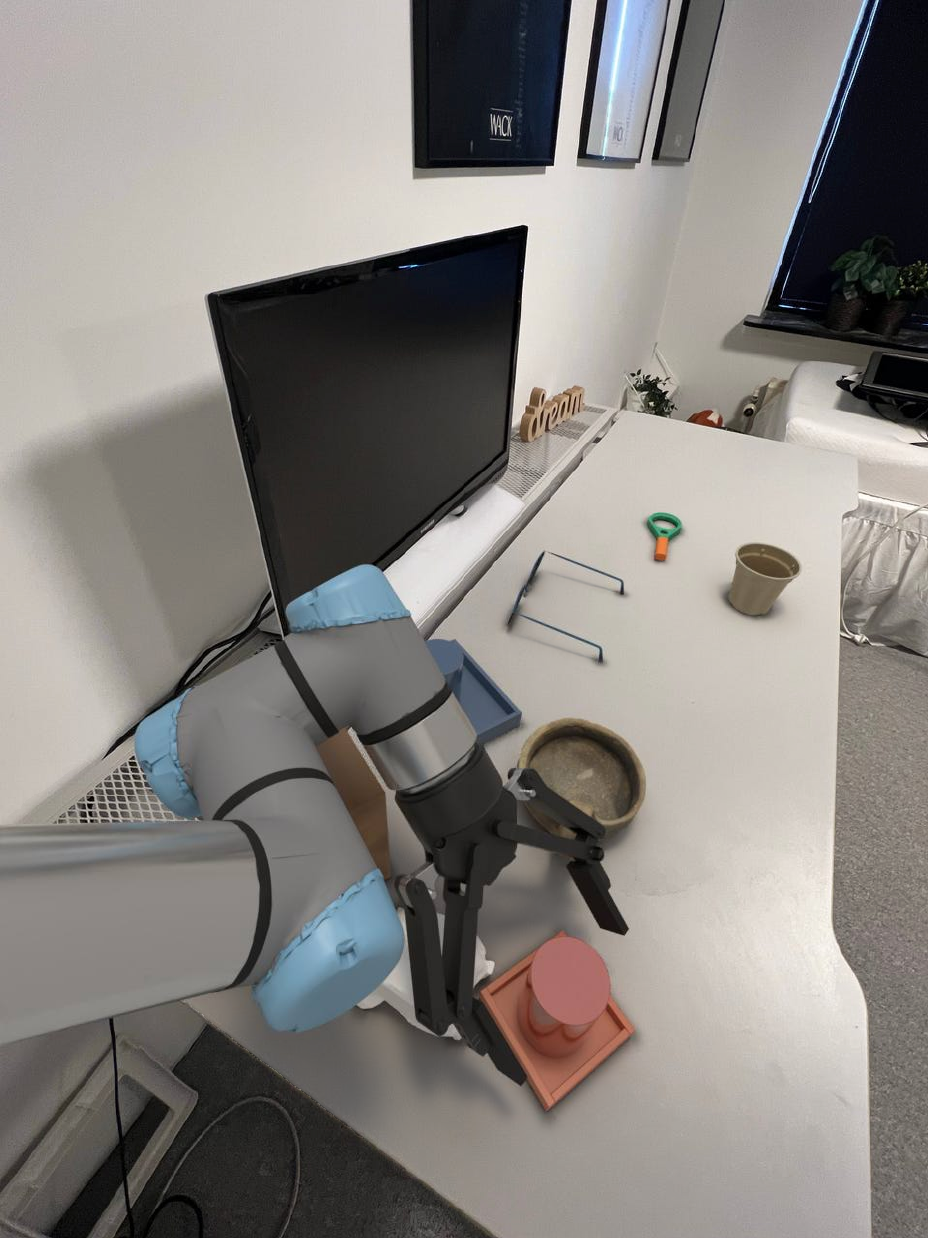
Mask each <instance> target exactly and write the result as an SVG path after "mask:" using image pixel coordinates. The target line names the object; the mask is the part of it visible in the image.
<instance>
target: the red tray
mask: <svg viewBox="0 0 928 1238" xmlns="http://www.w3.org/2000/svg"><path fill="white" fill-rule="evenodd" d="M561 936H567V934H566V933H565V931H564V930H561V931H560V932H558V933H557V934H555V935H554V936H553V937H552V938H555V937H561ZM539 948H540V946H539V947H538V948H536V950H534V951H532V953H530V954H529V955H527V956H526V957H524V958H523V959H522V960H520V961H519V962H518V963H516V964H515V965H513V967H511V968H510V969H508V970H507V971H505V972H504V973H503V974H502V975H500V976H498V978H497V979H495V980H494V981H492V982H491V983H490V984H488V985H486V987H484V988H482V989H481V990H480V993H479V996H478V998H479V1001H481V1002H483V1003H484V1004H485V1006H486V1008H487V1009H488V1011H489V1013H490V1014H491V1016H492V1018H493V1019H494V1021H495V1023H496V1024H497V1026H498V1028H499V1029H500V1031H501V1033H502V1034H503V1036H504V1038H505V1039H506V1041H507V1043H508V1044H509V1046H510V1048H511V1049H512V1051H513V1053H514V1054H515V1056H516V1058H517V1059H518V1061H519V1063H520V1064H521V1066H522V1068H523V1069H524V1071H525V1073H526V1074H527V1076H528V1077H527V1079H526V1081H527V1082H528V1083H529V1085H530V1087H531V1088H532V1091H533V1092H534V1093H535V1096H536V1097H537V1099H538V1101H539V1103H540V1104H541V1106H542V1107H543V1109H544V1111H545V1113H547V1112H548V1111H549V1110H550V1109H552V1107H554V1106H555V1105H556V1104H557V1103H558V1102H559V1101H561V1100H562V1099H563V1098H564V1097H565V1096H566V1095H567V1094H568V1093H570V1092H571V1090H573V1089H574V1088H575V1087H576V1086H577V1085H578V1084H579V1083H580V1082H582V1081H583V1079H586V1077H587V1076H588V1075H590V1073H591V1072H592V1071H593V1070H594V1069H596V1068H597V1067H598V1066H599V1065H600V1064H602V1063H603V1061H604V1060H605V1059H607V1058H608V1057H609V1056H610V1055H611V1054H613V1053H614V1052H615V1051H616V1050H617V1049H618V1048H619V1047H620V1046H621V1045H622V1044H623V1043H625V1042H626V1041H627V1040H628V1039H629V1038H631V1036H632V1035H633V1034H634V1033H635V1031H636V1029H635V1027H634V1026H633V1025H632V1023H631V1022H630V1021H629V1019H628V1017H627V1016H626V1015H625V1013H623V1011H622V1009H621V1008H620V1006H619V1005H618V1004H617V1003H616V1001H615V1000H614V999H613V997H612V996H611V995H610V998H609V1002H608V1005H607V1007H606V1009H605V1010H604V1012H603V1013H602V1015H601V1016H600V1018H599V1019H598V1021H597V1022H596V1024H595V1025H594V1027H593V1028H592V1030H591V1031H590V1033H589V1034H588V1036H587V1037H586V1039H585V1040H584V1042H583V1043H582V1045H581V1046H580V1048H579V1049H578V1050H577V1051H576V1052H574V1053H573V1054H571V1055H569V1056H567V1057H564V1058H550V1057H547V1056H544V1055H542V1054H540V1053H538V1052H537V1051H536V1050H534V1049H533V1048H532V1047H531V1046H530V1045H529V1044H528V1042H527V1041H526V1039H525V1038H524V1036H523V1034H522V1032H521V1030H520V1027H519V1023H518V1018H517V1006H518V1001H519V997H520V995H521V992H522V989H523V986H524V983H525V980H526V977H527V974H528V971H529V969H530V966H531V963H532V960H533V958H534V955H535V953H536V952H537V950H538V949H539Z"/></svg>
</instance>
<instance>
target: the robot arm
mask: <svg viewBox="0 0 928 1238" xmlns="http://www.w3.org/2000/svg"><path fill="white" fill-rule="evenodd" d="M285 616H286V618H287V621H288V623H289V629H290V631H291V632H290V633H288V634H286V636H284V637H283V639H282V640H281V641H279V642H277V643H275V644H273V645H271V646H270V647H268V648H266V649H264V650H262V651H261V652H260V651H259V652H258V653H257V654H254V655H253V656H251V657H249V658H248V659H245V660H243V661H241V662H240V663H238V664H236V665H233V666H232V667H231V668H229V669H227V670H225V671H223V672H221V673H219V674H217V675H216V676H214V677H212V678H210V679H207V680H206V681H205V682H202V683H201V684H199V685H194V686H192V687H190V688H187V689H186V690H185V691H184V692H183V693H182V694H181V695H179V696H178V697H176V698H175V699H173V700H171V701H168V702H167V704H165V705H163V706H162V707H161V708H159V709H158V710H156V711H154V712H153V713H151V714H150V715H148V716H147V717H145V718H144V719H143V720H142V721H140V723H139V725H138V726H137V728H136V729H135V733H134V738H133V747H134V753H135V758H136V760H137V763H138V765H139V767H140V768H141V770H142V771H143V773H144V775H145V781H146V783H147V785H148V786H149V788H150V789H151V791H152V792H153V794H154V796H156V798H157V799H158V800H159V801H160V802H161V803H162V805H163V806H164V807H165V808H166V809H167V810H169V811H170V812H171V813H173V814H174V815H176V816H178V818H179V817H180V818H183V819H185V820H175V821H174V820H168V821H166V820H164V821H163V820H162V821H161V820H159V821H115V822H114V821H112V822H66V823H63V822H62V823H61V822H60V823H11V824H9V823H8V824H0V1047H4V1046H8V1045H12V1044H16V1043H19V1042H23V1041H27V1040H31V1039H35V1038H39V1037H42V1036H46V1035H51V1034H54V1033H59V1032H62V1031H66V1030H70V1029H74V1028H78V1027H82V1026H86V1025H89V1024H94V1023H98V1022H103V1021H105V1020H110V1019H113V1018H117V1017H121V1016H122V1017H123V1016H126V1015H130V1014H133V1013H138V1012H141V1011H144V1010H145V1011H146V1010H148V1009H149V1010H150V1009H153V1008H156V1007H160V1006H165V1005H168V1004H173V1003H176V1002H181V1001H184V1000H188V999H192V998H195V997H201V996H204V995H208V994H212V993H213V994H214V993H220V992H223V991H227V990H231V989H238V988H245V987H252V1002H253V1003H257V1005H258V1006H259V1009H260V1011H261V1014H262V1016H263V1018H264V1021H265V1024H266V1025H267V1026H268V1027H269V1028H271V1029H272V1030H273V1031H276V1032H277V1033H286V1032H287V1033H288V1032H289V1033H297V1034H298V1033H303V1032H306V1031H309V1030H312V1029H315V1028H319V1027H320V1026H322V1025H325V1024H326V1023H328V1022H331V1021H333V1020H335V1019H336V1018H338V1017H340V1016H342V1015H343V1014H344V1013H346V1012H349V1010H351V1009H353V1008H354V1007H355V1006H357V1004H358V1003H360V1002H361V1001H362V1000H363V999H365V998H366V997H367V996H369V995H370V994H371V993H372V992H373V991H374V990H375V989H377V988H378V987H379V986H380V985H381V983H382V982H383V981H384V980H385V979H386V978H387V977H388V976H389V974H390V973H391V972H392V971H393V969H394V968H395V967H396V965H397V963H398V962H399V960H400V958H401V955H402V953H403V949H404V944H405V935H404V929H403V926H402V924H401V921H400V919H399V917H398V914H397V912H396V911H397V909H396V907H395V904H394V902H393V899H392V896H391V894H390V892H389V889H388V887H387V885H386V882H385V880H384V877H383V874H382V873H381V871H380V869H378V868H377V866H376V864H375V862H374V860H373V858H372V856H371V854H370V853H369V851H368V849H367V847H366V845H365V843H364V841H363V839H362V837H361V835H360V833H359V831H358V829H357V828H356V826H355V824H354V822H353V820H352V818H351V816H350V814H349V812H348V810H347V808H346V806H345V805H344V803H343V801H342V799H341V797H340V795H339V793H338V791H337V789H336V787H335V785H334V783H333V781H332V779H331V777H330V775H329V773H328V771H327V769H326V767H325V765H324V763H323V761H322V759H321V757H320V755H319V753H318V751H317V749H316V747H318V746H319V745H321V744H322V743H324V742H325V741H327V740H328V739H329V738H331V737H332V736H334V735H336V734H337V733H339V730H341V729H343V728H344V727H345V728H347V726H350V728H351V729H352V730H353V731H354V733H355V735H356V737H357V739H358V741H359V742H360V743H361V746H362V748H363V749H364V750H365V752H366V754H367V755H368V757H369V760H370V761H371V763H372V764H373V765H374V767H375V770H377V772H378V774H379V776H380V777H381V779H382V781H383V782H384V784H385V785H386V787H387V789H388V790H391V791H395V793H394V802H395V804H396V805H397V806H398V809H399V810H400V813H402V815H403V817H404V819H405V821H406V822H407V824H408V826H409V828H411V830H412V832H413V834H414V836H415V837H416V838H417V840H418V841H419V842H420V844H421V846H422V847H423V850H424V854H425V862H424V863H423V864H422V865H421V866H419V867H418V868H416V869H415V870H414V871H413V872H411V873H410V874H409V875H407V874H404V873H401V874H399V875H397V876H396V877H395V879H394V881H393V888H394V890H395V892H396V895H397V897H398V899H399V902H400V904H401V906H402V908H403V909H404V912H405V922H406V931H407V941H408V950H409V960H410V970H411V979H412V989H413V999H414V1008H415V1017H416V1020H417V1021H418V1022H419V1023H420V1024H422V1025H423V1026H424V1027H426V1028H427V1029H429V1030H430V1031H431V1032H433V1033H434V1034H435V1035H434V1036H436V1035H437V1036H436V1037H444V1036H443V1035H444V1034H445V1033H446V1032H447V1030H448V1027H449V1026H450V1025H451V1024H453V1025H454V1026H455V1028H456V1030H457V1031H458V1033H459V1034H460V1036H461V1040H462V1041H463V1043H464V1044H465V1046H466V1047H468V1048H469V1049H470V1050H471V1051H473V1052H475V1053H476V1054H477V1055H479V1056H480V1057H483V1058H484V1057H485V1056H486V1054H487V1055H488V1057H489V1058H490V1060H491V1061H492V1063H493V1065H494V1067H495V1068H496V1070H497V1071H498V1072H500V1073H501V1074H502V1075H504V1076H505V1077H507V1078H508V1079H510V1080H511V1081H513V1082H514V1083H515V1084H517V1085H518V1086H520V1087H522V1086H523V1084H524V1083H525V1082H526V1081H527V1077H528V1076H527V1074H526V1073H525V1071H524V1069H523V1068H522V1066H521V1064H520V1063H519V1061H518V1059H517V1058H516V1056H515V1054H514V1053H513V1051H512V1049H511V1048H510V1046H509V1044H508V1043H507V1041H506V1039H505V1038H504V1036H503V1034H502V1033H501V1031H500V1029H499V1028H498V1026H497V1024H496V1023H495V1021H494V1019H493V1018H492V1016H491V1014H490V1013H489V1011H488V1009H487V1008H486V1006H485V1004H484V1003H483V1002H481V1000H480V999H477V998H476V997H474V988H473V986H474V970H475V954H476V938H477V935H478V919H479V910H480V909H481V908H482V907H483V905H484V904H483V903H484V891H485V886H488V887H490V886H491V885H493V883H494V882H495V881H496V880H497V879H498V877H499V875H500V874H501V872H502V870H503V869H504V868H506V867H508V866H509V865H510V864H511V863H512V862H514V860H515V859H516V858H517V855H516V853H517V849H518V844H519V845H523V846H527V847H529V848H530V847H531V848H534V849H538V850H541V851H546V852H550V853H553V854H556V853H558V854H562V855H565V856H569V857H573V858H574V859H570V860H569V862H568V863H567V864H566V865H565V868H566V870H567V873H569V874H568V875H570V877H571V879H572V881H573V882H574V885H575V886H576V888H577V890H578V891H579V893H580V895H581V897H582V899H583V900H584V902H585V905H586V906H587V908H588V910H589V912H590V913H591V915H592V916H593V918H594V920H595V922H596V924H597V926H598V928H599V929H601V930H604V931H607V932H611V933H614V934H617V935H620V936H623V937H625V936H626V934H627V933H628V931H629V930H630V927H629V926H628V924H627V922H626V920H625V919H624V916H623V914H622V913H621V912H620V909H619V907H618V906H617V904H616V902H615V900H614V899H613V897H612V895H611V893H610V892H609V890H610V888H611V887H612V884H611V879H610V878H609V876H608V874H607V871H606V870H605V867H603V864H602V863H601V862H603V860H604V858H605V849H604V848H603V847H602V846H599V845H598V844H599V842H600V841H599V840H601V839H603V838H604V837H605V834H606V830H605V827H604V826H603V825H602V824H600V823H599V822H597V821H596V820H595V819H593V818H592V817H590V816H589V815H587V814H586V813H584V812H583V811H582V810H580V809H579V808H577V807H576V806H574V805H573V804H571V803H570V802H569V801H567V800H566V799H564V798H563V797H561V796H560V795H559V794H557V793H556V792H554V791H553V790H551V789H550V788H548V787H547V785H546V784H545V783H544V781H543V780H542V778H541V777H540V775H539V774H538V772H537V771H536V770H535V769H533V768H517V767H511V768H510V769H509V770H508V772H507V779H508V781H507V782H506V783H505V784H504V783H503V778H502V777H501V775H500V772H499V771H498V769H497V767H496V766H495V764H494V762H493V761H492V759H491V756H490V755H489V753H488V752H487V750H486V747H485V746H484V744H483V745H482V744H480V743H477V742H475V741H476V737H477V733H476V731H475V729H474V728H473V726H472V724H471V722H470V721H469V719H468V717H467V716H466V714H465V712H464V711H463V709H462V707H461V705H460V704H459V702H458V700H457V699H456V697H455V695H454V693H453V692H452V690H451V689H450V687H449V685H448V683H447V681H446V680H445V678H444V676H443V674H442V672H441V671H440V669H439V667H438V665H437V663H436V661H435V659H434V658H433V656H432V654H431V652H430V650H429V648H428V647H427V645H426V643H425V641H426V640H425V639H424V638H423V636H422V634H421V632H420V630H419V628H418V626H417V625H416V623H415V621H414V619H413V618H412V613H411V611H410V610H409V609H407V608H406V605H405V604H404V603H403V602H402V600H401V598H400V597H399V595H398V593H397V592H396V591H395V589H394V588H393V586H392V584H391V582H390V581H389V580H388V577H387V576H386V575H385V573H384V572H383V571H382V569H381V568H379V567H377V566H375V565H373V564H368V563H367V564H366V563H363V564H360V565H357V566H354V567H352V568H349V569H348V570H346V571H344V572H342V573H340V574H338V575H336V576H335V577H333V578H331V579H328V580H327V581H325V582H324V583H322V584H320V585H318V586H316V587H314V588H312V589H311V590H310V591H308V592H305V593H303V594H302V595H300V596H298V597H296V598H295V599H294V600H292V601H290V602H289V603H288V604H287V606H286V608H285ZM517 800H518V801H523V800H525V801H527V802H528V803H529V804H531V805H532V806H534V807H535V808H537V809H538V810H540V811H541V812H543V813H544V814H546V815H547V816H549V817H550V818H552V819H553V820H555V821H556V822H558V823H559V824H561V825H562V826H564V827H565V828H567V829H568V830H570V831H571V832H573V833H574V834H576V837H575V839H574V840H572V839H568V838H564V837H561V836H557V835H553V834H551V833H550V832H547V831H542V830H539V829H537V828H534V827H529V826H526V825H522V824H518V801H517ZM200 817H201V818H202V819H203V820H193V819H196V818H200ZM601 841H602V840H601ZM439 877H440V878H443V886H442V899H443V901H444V903H445V904H444V905H445V906H444V907H445V908H444V909H445V910H444V916H445V920H444V933H443V946H442V954H441V945H440V936H439V927H438V918H437V913H438V912H437V909H436V905H435V903H434V900H436V899H437V897H438V892H437V891H436V887H435V886H436V885H435V883H436V881H437V879H438V878H439ZM462 884H463V885H465V891H463V890H462ZM474 987H475V986H474Z"/></svg>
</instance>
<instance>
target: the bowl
mask: <svg viewBox="0 0 928 1238" xmlns="http://www.w3.org/2000/svg"><path fill="white" fill-rule="evenodd" d="M516 768H533V769H535V770H536V771H537V772H538V774H539V775H540V777H541V778H542V780H543V781H544V783H545V784H546V785H547V787H548V788H550V789H551V790H553V791H554V792H556V793H557V794H559V795H560V796H561V797H563V798H564V799H566V800H567V801H569V802H570V803H571V804H573V805H574V806H576V807H577V808H579V809H580V810H582V811H583V812H584V813H586V814H587V815H589V816H590V817H592V818H593V819H595V820H596V821H597V822H599V823H600V824H602V825H603V826H604V827H605V830H606V834H605V837H604V838H603V839H601V840H599V841H598V842H600V841H604V840H606V839H609V838H612V837H615V836H616V835H619V834H620V833H622V832H623V831H625V830H626V829H627V828H628V827H629V825H631V823H632V821H633V820H634V818H635V816H636V815H637V814H638V813H639V811H640V809H641V807H642V805H643V804H644V801H645V797H646V792H647V778H646V774H645V769H644V767H643V764H642V763H641V760H640V758H639V757H638V755H637V753H635V750H634V749H633V747H632V746H631V745H630V743H629V742H628V741H627V740H626V739H625V738H623V737H622V736H620V735H619V734H618V733H617V732H615V731H613V730H611V729H610V728H607V727H605V726H603V725H601V724H598V723H596V722H591V721H589V720H588V719H584V718H580V717H579V718H576V717H564V718H559V719H556V720H553V721H550V722H548V723H546V724H543V725H542V726H540V727H538V728H537V729H536V730H534V732H533V733H531V734H530V735H529V736H528V738H526V739H525V742H524V743H523V746H522V749H521V753H520V757H519V758H518V760H517V762H516ZM522 802H523V804H524V805H525V808H526V809H527V810H528V812H529V814H530V815H531V816H532V817H533V819H535V821H537V823H538V824H539V825H540V826H541V827H543V828H544V829H545V830H546V831H548V833H550V834H553V835H557V836H561V837H564V838H568V839H572V840H574V839H575V837H576V834H574V833H573V832H571V831H570V830H568V829H567V828H565V827H564V826H562V825H561V824H559V823H558V822H556V821H555V820H553V819H552V818H550V817H549V816H547V815H546V814H544V813H543V812H541V811H540V810H538V809H537V808H535V807H534V806H532V805H531V804H529V803H528V802H527V801H525V800H522ZM555 854H556V855H557V856H559V857H563V858H565V859H570V860H574V858H573V857H569V856H565V855H562V854H558V853H555Z"/></svg>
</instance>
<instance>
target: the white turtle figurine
mask: <svg viewBox="0 0 928 1238" xmlns="http://www.w3.org/2000/svg"><path fill="white" fill-rule="evenodd" d="M396 912H397V914H398V917H399V919H400V921H401V924H402V926H403V929H404V935H405V944H404V949H403V953H402V955H401V958H400V960H399V962H398V963H397V965H396V967H395V968H394V969H393V971H392V972H391V973H390V974H389V976H388V977H387V978H386V979H385V980H384V981H383V982H382V983H381V985H380V986H379V987H378V988H377V989H375V990H374V991H373V992H372V993H371V994H370V995H369V996H367V997H366V998H365V999H363V1000H362V1001H361V1002H360V1003H358V1004H357V1005H356V1006H357V1007H358V1008H360V1009H363V1010H366V1009H373V1008H375V1007H377V1006H379V1005H380V1004H382V1002H386V1003H388V1005H390V1006H391V1007H392V1008H394V1009H395V1010H397V1011H398V1012H399V1014H400V1015H401V1016H403V1017H404V1018H405V1019H406V1021H407V1022H408V1023H409V1024H411V1026H415V1027H416V1028H417V1029H419V1030H421V1031H423V1032H425V1033H428V1034H430V1035H433V1036H436V1037H438V1036H437V1035H435V1034H434V1033H433V1032H431V1031H430V1030H429V1029H427V1028H426V1027H424V1026H423V1025H422V1024H420V1023H419V1022H418V1021H417V1020H416V1017H415V1008H414V999H413V989H412V979H411V970H410V960H409V950H408V941H407V931H406V922H405V912H404V908H403V907H401V906H400V907H398V908H397V909H396ZM437 918H438V927H439V936H440V945H441V954H442V946H443V933H444V920H445V914H442V913H439V912H437ZM479 937H480V936H479V935H478V934H477V938H476V954H475V970H474V986H473V989H475V986H476V985H477V984H478V983H479V982H480V981H481V980H483V979H485V978H487V977H488V976H491V975H492V974H493V972H494V968H495V965H496V963H495V961H493V960H487V959H486V954H487V950H486V947H485V945H484V943H483V942H482V941H481V938H479ZM442 1037H446V1038H447V1037H449V1038H450V1037H452V1038H453V1039H454V1040H455V1041H457V1040H458V1041H460V1040H462V1038H461V1036H460V1034H459V1033H458V1031H457V1030H456V1028H455V1026H454V1025H453V1024H451V1025H450V1026H449V1027H448V1030H447V1032H446V1033H445V1034H444V1035H443V1036H442Z"/></svg>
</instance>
